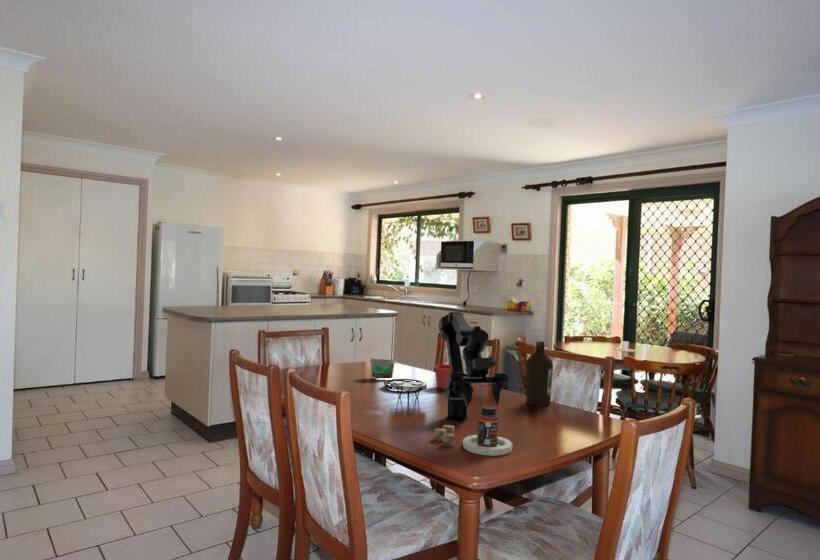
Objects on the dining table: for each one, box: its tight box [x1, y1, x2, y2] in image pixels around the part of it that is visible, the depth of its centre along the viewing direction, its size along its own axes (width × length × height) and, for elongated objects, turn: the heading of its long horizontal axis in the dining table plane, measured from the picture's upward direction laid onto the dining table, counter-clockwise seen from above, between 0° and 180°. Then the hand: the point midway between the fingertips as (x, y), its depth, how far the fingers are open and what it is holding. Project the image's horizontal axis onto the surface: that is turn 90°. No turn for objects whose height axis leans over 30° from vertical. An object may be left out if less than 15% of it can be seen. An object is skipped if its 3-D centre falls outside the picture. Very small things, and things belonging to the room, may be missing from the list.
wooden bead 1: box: [433, 427, 446, 442], centre depth 167 cm, size 4×4×3 cm
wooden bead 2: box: [442, 424, 455, 435], centre depth 171 cm, size 4×4×3 cm
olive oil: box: [525, 340, 554, 407], centre depth 221 cm, size 11×11×25 cm
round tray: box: [462, 434, 513, 457], centre depth 161 cm, size 14×14×2 cm
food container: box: [369, 356, 396, 379], centre depth 259 cm, size 12×6×10 cm, turn 81°
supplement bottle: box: [477, 405, 499, 447], centre depth 161 cm, size 6×6×11 cm
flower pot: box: [434, 364, 451, 390], centre depth 245 cm, size 11×11×10 cm
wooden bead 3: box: [442, 433, 456, 448], centre depth 162 cm, size 4×4×3 cm
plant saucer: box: [382, 378, 425, 390], centre depth 240 cm, size 18×18×3 cm
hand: (483, 404), depth 166 cm, fingers open, 9 cm apart
